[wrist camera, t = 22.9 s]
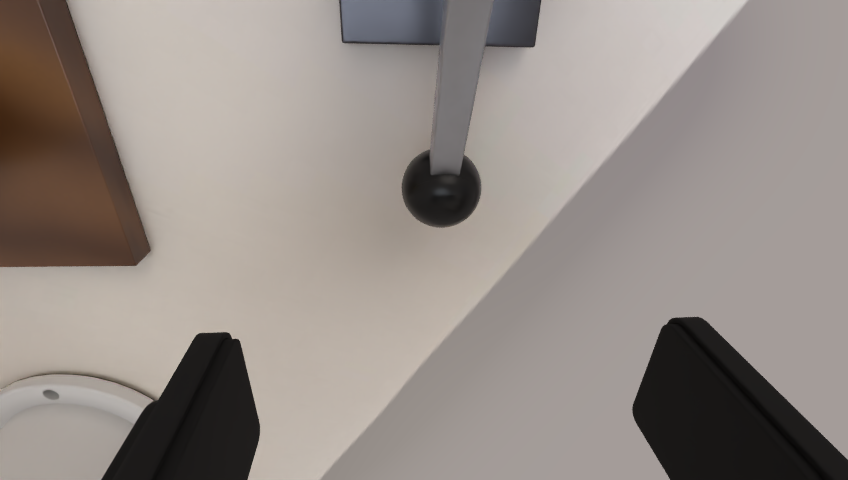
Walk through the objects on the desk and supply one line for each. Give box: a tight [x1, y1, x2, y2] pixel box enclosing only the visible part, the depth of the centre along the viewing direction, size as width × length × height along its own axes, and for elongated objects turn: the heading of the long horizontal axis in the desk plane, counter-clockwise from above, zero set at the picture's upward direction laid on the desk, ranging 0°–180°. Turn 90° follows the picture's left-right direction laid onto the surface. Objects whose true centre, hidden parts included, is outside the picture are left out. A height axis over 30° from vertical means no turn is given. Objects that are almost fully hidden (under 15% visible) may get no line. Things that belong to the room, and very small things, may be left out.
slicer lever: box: [402, 0, 494, 228], centre depth 13 cm, size 14×3×3 cm, turn 178°
